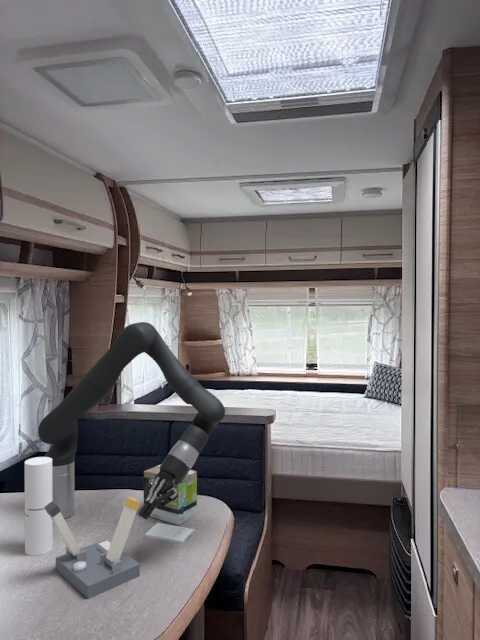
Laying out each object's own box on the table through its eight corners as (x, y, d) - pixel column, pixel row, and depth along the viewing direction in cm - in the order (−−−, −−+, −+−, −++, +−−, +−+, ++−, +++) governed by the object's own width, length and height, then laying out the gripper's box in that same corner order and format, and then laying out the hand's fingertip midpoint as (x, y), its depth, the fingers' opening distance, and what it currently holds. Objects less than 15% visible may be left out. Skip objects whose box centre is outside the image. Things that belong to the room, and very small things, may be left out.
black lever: (69, 554, 128) (43, 506, 122) (76, 548, 129) (50, 500, 124) (77, 561, 125) (50, 511, 119) (84, 554, 126) (58, 505, 121)
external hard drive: (158, 527, 152) (194, 533, 148) (144, 539, 144) (183, 546, 140) (158, 522, 152) (194, 528, 148) (144, 533, 144) (183, 540, 140)
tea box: (197, 515, 160) (198, 470, 159) (178, 526, 151) (178, 479, 151) (162, 504, 168) (163, 462, 167) (142, 515, 159) (142, 470, 159)
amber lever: (101, 561, 123) (126, 496, 127) (109, 562, 124) (132, 497, 129) (110, 568, 120) (135, 501, 124) (118, 569, 121) (141, 502, 125)
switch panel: (55, 569, 126) (55, 548, 126) (104, 550, 136) (104, 531, 136) (88, 598, 114) (88, 576, 114) (139, 575, 124) (139, 554, 123)
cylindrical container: (42, 557, 132) (42, 466, 131) (19, 554, 134) (18, 463, 133) (57, 544, 139) (57, 457, 138) (35, 541, 141) (34, 456, 140)
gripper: (158, 448, 139) (119, 502, 131) (186, 459, 130) (147, 518, 122) (173, 462, 143) (136, 516, 135) (202, 474, 134) (165, 532, 125)
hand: (142, 517), depth 128 cm, fingers closed
